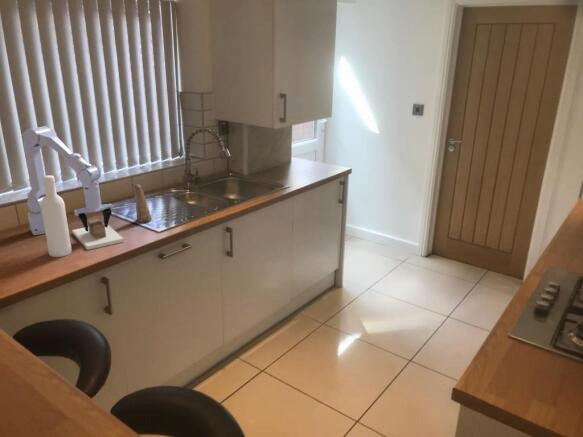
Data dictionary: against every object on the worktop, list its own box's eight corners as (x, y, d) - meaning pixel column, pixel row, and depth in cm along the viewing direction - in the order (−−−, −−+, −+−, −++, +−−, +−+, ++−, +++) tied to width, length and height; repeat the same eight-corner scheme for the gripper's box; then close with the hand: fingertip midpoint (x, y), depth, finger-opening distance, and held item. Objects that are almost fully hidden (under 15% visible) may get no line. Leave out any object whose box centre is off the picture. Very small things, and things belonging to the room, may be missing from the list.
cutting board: (87, 250, 182) (87, 246, 181) (72, 233, 197) (72, 230, 197) (123, 241, 190) (123, 238, 189) (106, 226, 205) (106, 223, 205)
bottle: (53, 248, 182) (41, 173, 172) (75, 248, 183) (63, 173, 173) (45, 257, 175) (31, 179, 164) (67, 257, 175) (55, 179, 165)
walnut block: (89, 232, 195) (87, 220, 193) (99, 230, 197) (97, 218, 196) (95, 239, 188) (94, 227, 187) (106, 236, 191) (104, 225, 189)
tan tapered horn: (138, 220, 216) (137, 225, 210) (128, 183, 209) (126, 187, 203) (152, 217, 217) (151, 222, 211) (142, 180, 209) (141, 184, 204)
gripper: (76, 202, 180) (80, 235, 185) (114, 196, 189) (117, 227, 194) (71, 198, 186) (75, 230, 190) (108, 192, 194) (112, 222, 199)
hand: (96, 228), depth 192 cm, fingers open, 7 cm apart
